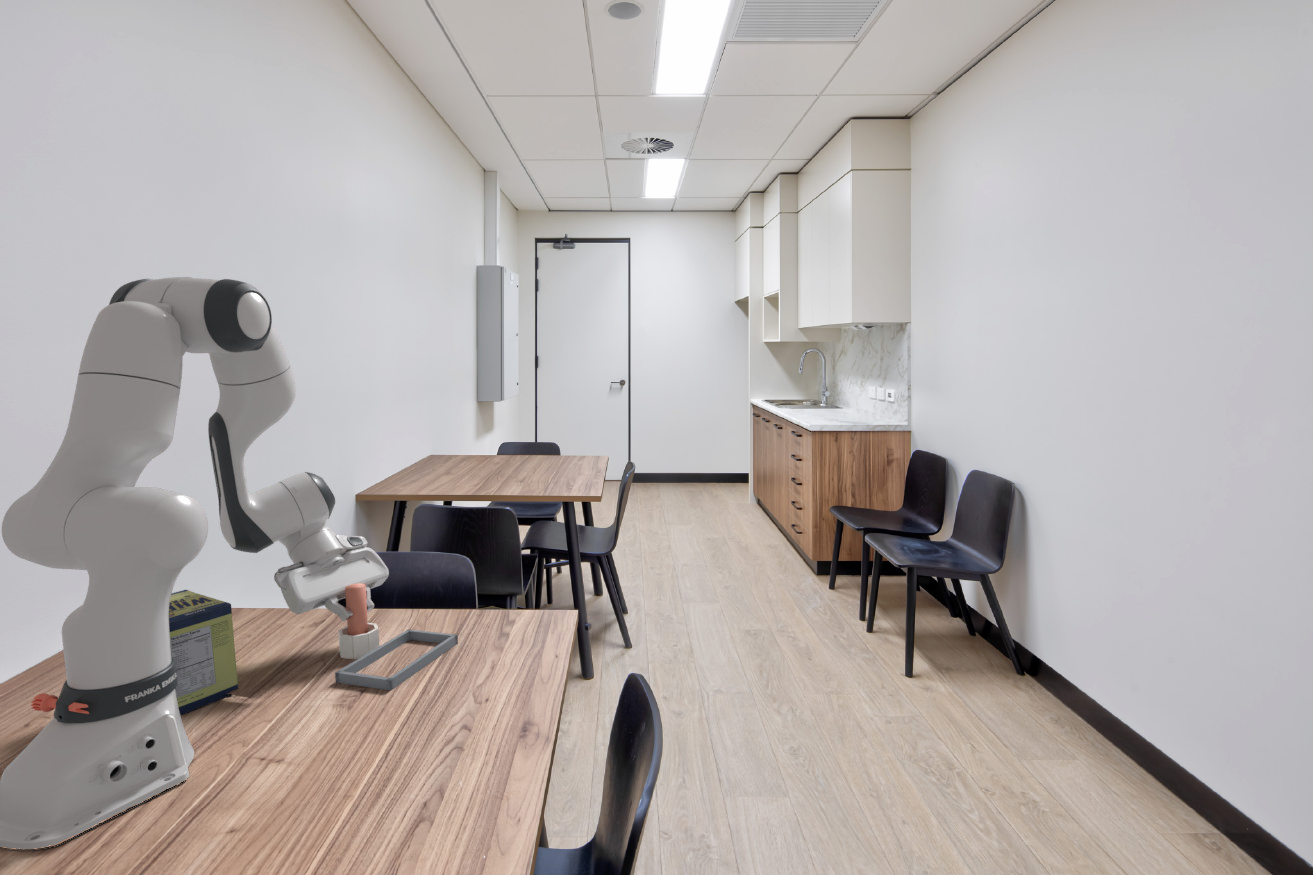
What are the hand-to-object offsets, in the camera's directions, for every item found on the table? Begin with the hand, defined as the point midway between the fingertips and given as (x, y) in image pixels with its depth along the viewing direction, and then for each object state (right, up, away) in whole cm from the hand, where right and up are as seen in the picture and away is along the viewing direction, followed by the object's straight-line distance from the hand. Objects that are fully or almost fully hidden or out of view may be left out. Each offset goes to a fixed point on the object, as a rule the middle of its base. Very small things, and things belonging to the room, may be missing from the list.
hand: (359, 613), depth 129 cm
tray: (+9, -9, -4) cm, 13 cm away
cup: (0, -8, +1) cm, 8 cm away
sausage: (0, -7, +1) cm, 7 cm away
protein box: (-24, -10, -14) cm, 29 cm away
